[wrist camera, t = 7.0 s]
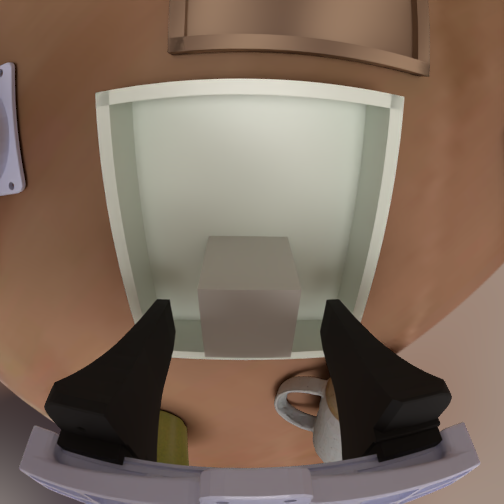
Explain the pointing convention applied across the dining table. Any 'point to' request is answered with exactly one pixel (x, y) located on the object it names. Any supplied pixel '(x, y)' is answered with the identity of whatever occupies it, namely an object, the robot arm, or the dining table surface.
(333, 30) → the wooden tray
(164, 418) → the plant pot
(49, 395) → the robot arm
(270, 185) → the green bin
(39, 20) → the dining table surface
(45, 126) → the dining table surface
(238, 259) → the stone
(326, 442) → the ceramic mug
